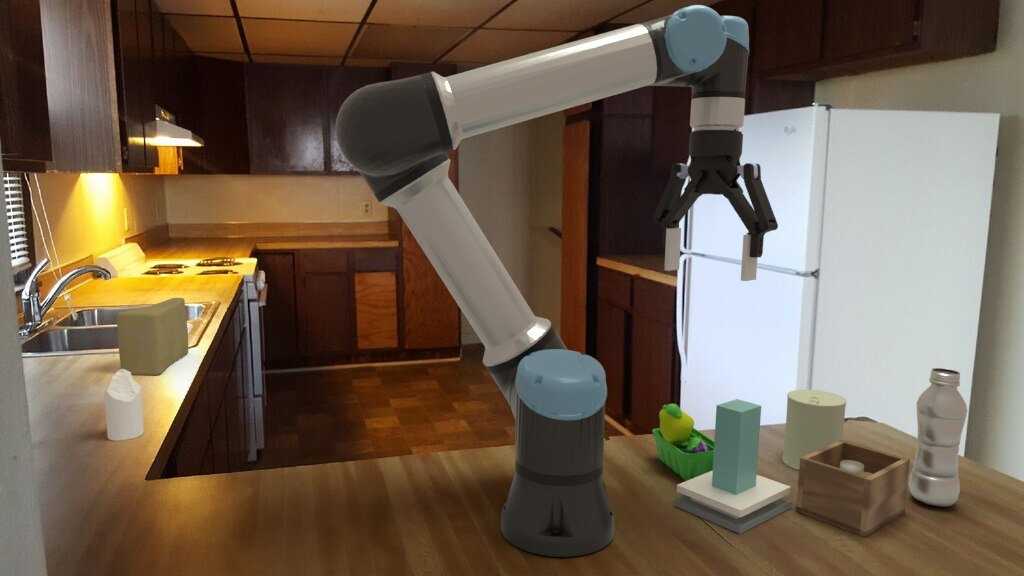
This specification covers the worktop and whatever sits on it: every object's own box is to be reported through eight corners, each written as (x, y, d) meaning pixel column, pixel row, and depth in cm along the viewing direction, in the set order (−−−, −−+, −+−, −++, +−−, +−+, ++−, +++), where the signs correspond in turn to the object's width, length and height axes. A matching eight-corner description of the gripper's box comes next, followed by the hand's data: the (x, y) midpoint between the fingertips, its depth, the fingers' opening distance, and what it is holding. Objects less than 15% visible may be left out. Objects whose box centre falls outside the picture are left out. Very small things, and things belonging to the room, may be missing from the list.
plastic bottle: (933, 514, 107) (947, 378, 104) (896, 495, 114) (909, 366, 111) (968, 509, 109) (984, 376, 106) (931, 490, 115) (944, 364, 112)
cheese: (167, 352, 195) (164, 295, 192) (204, 353, 194) (201, 296, 192) (118, 375, 173) (114, 311, 170) (159, 376, 172) (155, 312, 170)
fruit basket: (725, 479, 118) (729, 410, 117) (675, 485, 116) (678, 415, 114) (689, 453, 129) (692, 390, 128) (642, 458, 127) (645, 394, 125)
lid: (739, 526, 100) (746, 424, 98) (676, 499, 108) (680, 404, 106) (789, 501, 108) (796, 406, 106) (726, 477, 116) (732, 389, 114)
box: (865, 537, 100) (870, 480, 99) (795, 511, 107) (800, 457, 106) (904, 512, 108) (909, 459, 106) (837, 489, 115) (841, 439, 114)
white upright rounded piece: (109, 376, 128) (96, 370, 132) (114, 443, 130) (101, 435, 133) (145, 369, 132) (132, 364, 136) (149, 434, 134) (136, 427, 138)
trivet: (739, 534, 100) (740, 527, 100) (673, 505, 109) (674, 499, 108) (791, 507, 109) (791, 501, 108) (726, 483, 117) (726, 477, 117)
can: (778, 467, 124) (783, 397, 122) (786, 449, 132) (791, 383, 130) (838, 478, 119) (844, 406, 118) (843, 459, 128) (849, 391, 126)
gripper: (810, 128, 102) (799, 282, 105) (664, 133, 121) (658, 264, 124) (780, 125, 97) (769, 287, 100) (633, 131, 116) (628, 267, 119)
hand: (708, 275), depth 112 cm, fingers open, 13 cm apart
